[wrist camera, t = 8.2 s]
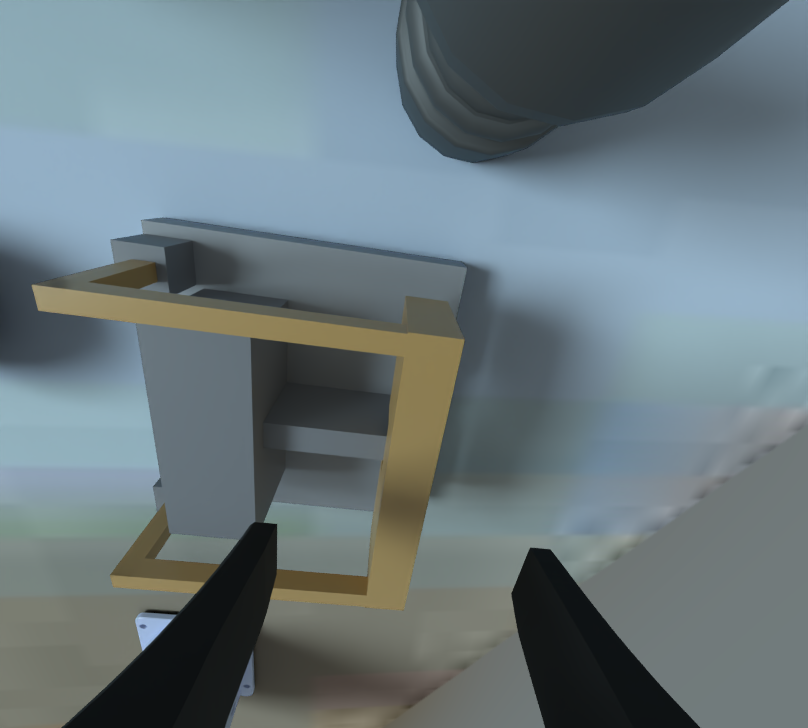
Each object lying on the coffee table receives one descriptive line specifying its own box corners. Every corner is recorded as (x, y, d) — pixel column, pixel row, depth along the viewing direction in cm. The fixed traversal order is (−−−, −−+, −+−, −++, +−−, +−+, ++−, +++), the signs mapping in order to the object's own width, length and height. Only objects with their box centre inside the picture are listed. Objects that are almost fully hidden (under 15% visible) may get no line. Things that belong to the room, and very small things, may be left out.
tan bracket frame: (447, 301, 14) (464, 339, 10) (402, 530, 19) (403, 610, 15) (131, 257, 13) (30, 282, 10) (170, 508, 18) (113, 587, 15)
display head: (461, 262, 17) (491, 295, 11) (413, 496, 23) (418, 592, 17) (163, 217, 16) (41, 231, 11) (192, 473, 22) (123, 567, 16)
